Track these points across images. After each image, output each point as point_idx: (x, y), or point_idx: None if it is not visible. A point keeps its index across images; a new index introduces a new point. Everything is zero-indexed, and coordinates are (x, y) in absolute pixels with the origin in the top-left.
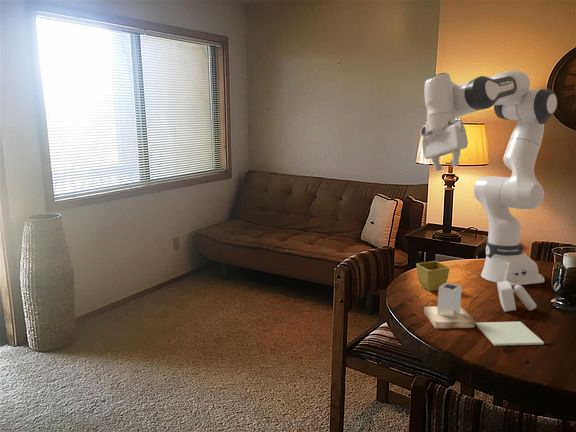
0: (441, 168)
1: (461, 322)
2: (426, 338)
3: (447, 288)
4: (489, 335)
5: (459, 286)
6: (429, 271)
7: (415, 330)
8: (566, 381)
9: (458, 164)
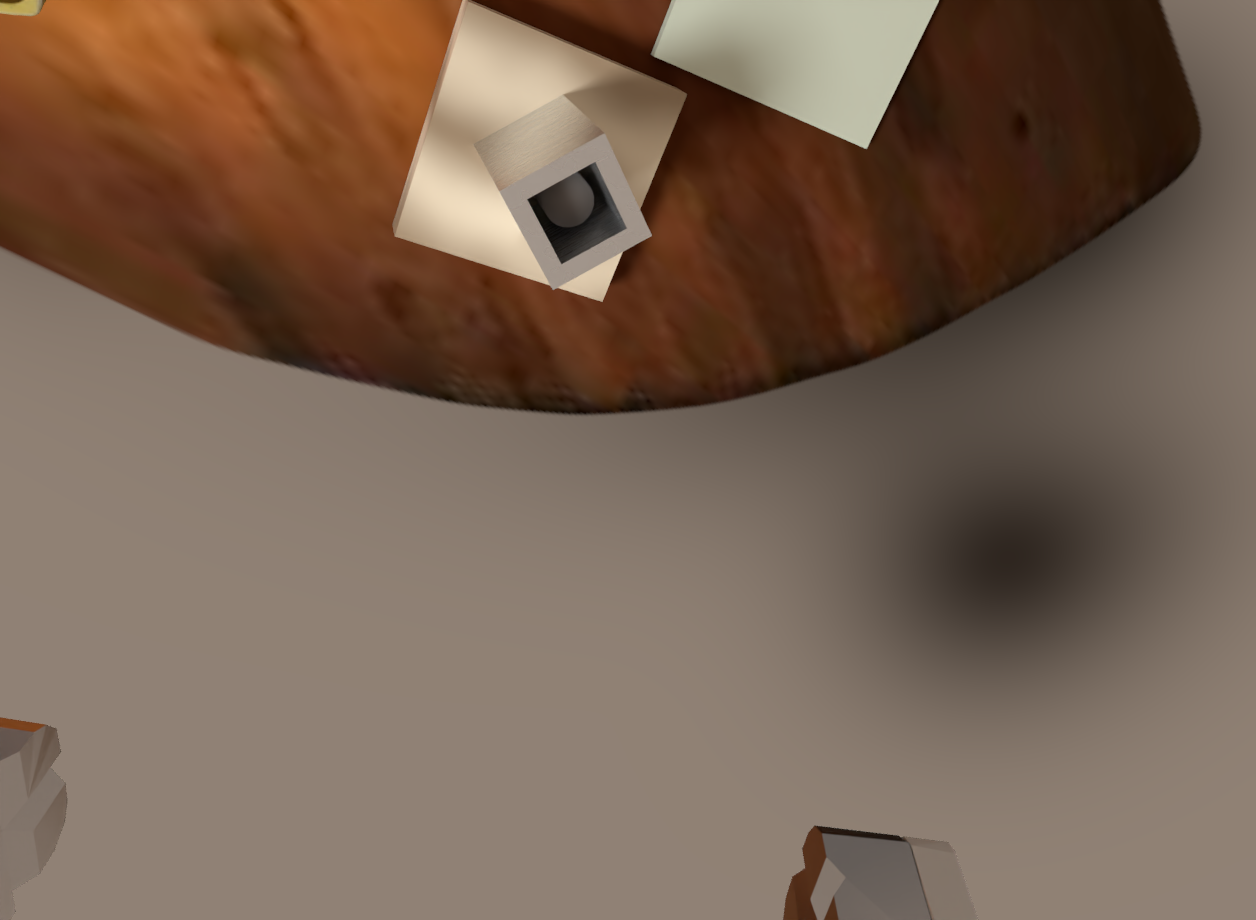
0: (24, 759)
1: (654, 167)
2: (658, 385)
3: (597, 253)
4: (798, 105)
5: (602, 152)
6: (42, 5)
7: (570, 387)
8: (1178, 106)
9: (951, 858)
